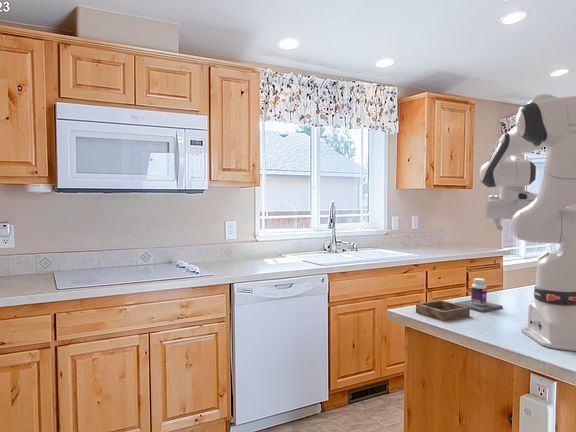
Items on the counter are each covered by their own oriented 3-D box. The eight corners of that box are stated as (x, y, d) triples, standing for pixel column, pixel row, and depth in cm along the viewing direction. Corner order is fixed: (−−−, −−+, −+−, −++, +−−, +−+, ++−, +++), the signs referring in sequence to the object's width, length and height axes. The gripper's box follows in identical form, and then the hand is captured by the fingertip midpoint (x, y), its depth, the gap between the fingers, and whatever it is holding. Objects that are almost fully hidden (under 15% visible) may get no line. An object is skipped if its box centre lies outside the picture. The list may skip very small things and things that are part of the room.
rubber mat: (502, 308, 165) (502, 305, 165) (481, 312, 159) (481, 309, 159) (475, 301, 176) (475, 299, 176) (454, 305, 170) (454, 302, 170)
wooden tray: (469, 315, 154) (469, 307, 154) (444, 320, 148) (444, 312, 148) (440, 307, 166) (440, 299, 166) (415, 312, 160) (415, 303, 159)
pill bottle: (484, 306, 164) (485, 281, 163) (469, 304, 167) (470, 279, 166) (487, 303, 168) (488, 278, 168) (473, 301, 171) (473, 277, 171)
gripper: (482, 195, 175) (481, 229, 176) (534, 195, 158) (533, 233, 159) (491, 195, 178) (490, 229, 179) (543, 195, 162) (542, 232, 162)
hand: (511, 231), depth 169 cm, fingers open, 8 cm apart
